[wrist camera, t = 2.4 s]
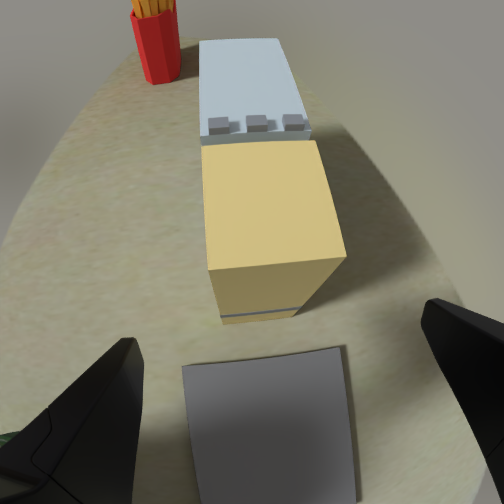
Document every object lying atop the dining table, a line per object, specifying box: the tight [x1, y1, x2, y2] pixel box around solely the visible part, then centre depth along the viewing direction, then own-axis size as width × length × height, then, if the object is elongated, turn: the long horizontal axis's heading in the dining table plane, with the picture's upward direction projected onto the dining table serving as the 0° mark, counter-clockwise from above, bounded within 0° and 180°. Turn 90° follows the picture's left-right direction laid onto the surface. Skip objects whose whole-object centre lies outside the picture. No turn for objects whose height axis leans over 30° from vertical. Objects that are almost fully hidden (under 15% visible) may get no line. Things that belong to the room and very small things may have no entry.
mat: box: [182, 347, 356, 504], centre depth 17 cm, size 12×10×1 cm
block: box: [202, 140, 347, 325], centre depth 16 cm, size 5×4×11 cm
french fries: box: [130, 0, 181, 85], centre depth 24 cm, size 8×4×12 cm, turn 6°
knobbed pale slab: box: [199, 38, 312, 147], centre depth 18 cm, size 8×4×11 cm, turn 7°
